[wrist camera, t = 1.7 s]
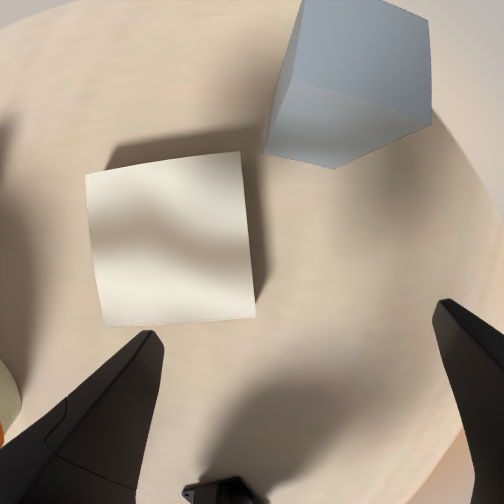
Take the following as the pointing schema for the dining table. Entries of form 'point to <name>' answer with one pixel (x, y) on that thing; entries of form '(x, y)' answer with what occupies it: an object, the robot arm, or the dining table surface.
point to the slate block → (350, 82)
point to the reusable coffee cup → (7, 400)
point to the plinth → (171, 241)
